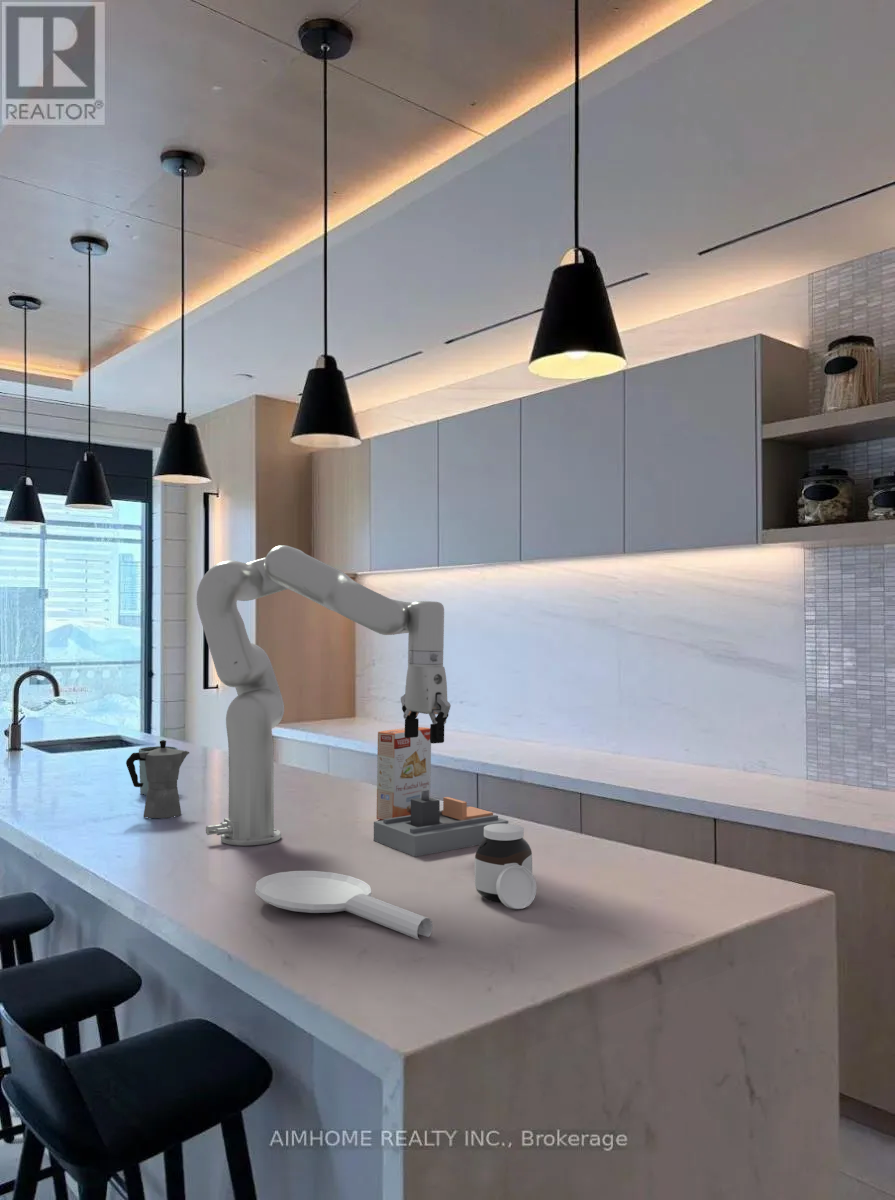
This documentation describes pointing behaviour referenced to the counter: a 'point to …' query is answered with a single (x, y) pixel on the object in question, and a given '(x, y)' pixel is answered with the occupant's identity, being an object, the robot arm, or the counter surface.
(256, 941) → the counter surface
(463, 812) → the tan l-shaped bracket
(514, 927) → the counter surface
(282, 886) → the frying pan
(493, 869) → the spread jar
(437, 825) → the socket block
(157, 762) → the coffeepot
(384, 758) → the cracker box
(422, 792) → the plug
